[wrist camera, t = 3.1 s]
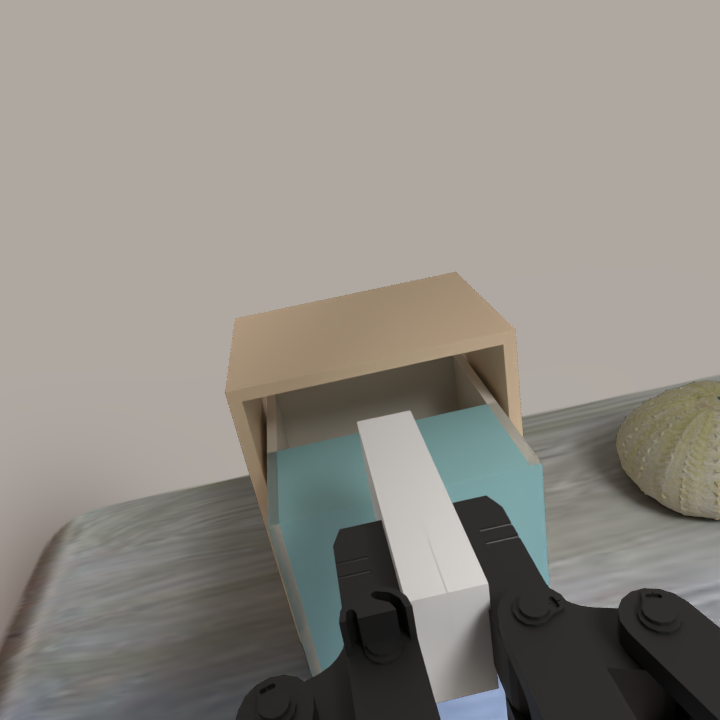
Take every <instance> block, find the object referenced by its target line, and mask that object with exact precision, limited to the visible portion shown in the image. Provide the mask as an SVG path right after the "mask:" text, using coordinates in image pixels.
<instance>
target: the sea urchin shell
mask: <svg viewBox="0 0 720 720" xmlns="http://www.w3.org/2000/svg"><path fill="white" fill-rule="evenodd" d="M616 438H617V441H616V449H617V453H618V454H617V455H618V456H619V459H620V462H621V464H622V469H624V470H625V472H626V475H628V476H629V477H630V478H631V479H632V480H633V481H634V482H635V483H636V484H637V485H638V486H639V488H640V489H641V491H643V492H644V494H645V495H649V496H651V497H652V498H654V499H656V500H657V501H658V502H660V503H661V504H662V505H664V506H666V507H667V508H670V509H672V510H674V511H677V512H679V513H682V514H683V515H688V516H695V517H705V518H713V519H716V520H719V519H720V382H712V381H701V382H693V383H690V384H687V385H684V386H681V387H677V388H674V389H670V390H666V391H665V392H664V393H662V394H660V395H658V396H656V397H654V398H650V400H648V401H645V402H643V404H642V405H641V406H640V407H638V408H637V409H636V410H633V412H632V413H631V414H630V415H629V416H628V417H625V420H624V421H623V424H622V425H620V430H619V432H618V434H617V436H616Z"/></svg>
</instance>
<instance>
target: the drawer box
mask: <svg viewBox="0 0 720 720" xmlns="http://www.w3.org/2000/svg"><path fill="white" fill-rule="evenodd" d="M405 411H411V413H412V415H413V417H414V420H415V422H416V424H417V426H418V429H419V431H420V433H421V435H422V437H423V440H424V442H425V444H426V446H427V449H428V451H429V453H430V455H431V457H432V460H433V462H434V464H435V466H436V468H437V471H438V473H439V475H440V477H441V480H442V482H443V484H444V486H445V488H446V491H447V493H448V495H449V497H450V500H451V502H452V503H454V502H458V501H463V500H467V499H472V498H476V497H481V496H485V495H487V496H488V497H489V498H491V499H492V500H494V501H495V502H496V503H498V504H499V505H501V506H502V507H503V509H504V510H505V512H506V514H507V516H508V517H509V519H510V521H511V524H512V525H513V526H514V528H515V530H516V532H517V533H518V536H519V538H520V539H521V540H522V542H523V544H524V546H525V547H526V549H527V551H528V553H529V554H530V556H531V558H532V560H533V561H534V563H535V565H536V567H537V568H538V570H539V572H540V574H541V575H542V577H543V579H544V581H545V582H546V584H547V585H548V587H549V574H548V556H547V539H546V522H545V504H544V487H543V470H542V463H541V461H540V460H539V458H538V457H537V456H536V454H535V453H534V452H533V450H532V449H531V448H530V446H529V445H528V443H527V442H526V441H525V439H524V438H523V437H522V435H521V434H520V433H519V431H518V430H517V429H516V427H515V426H514V424H513V423H512V422H511V420H510V419H509V418H508V416H507V415H506V414H505V412H504V411H503V409H502V408H501V407H500V405H499V404H498V403H497V401H496V400H495V399H494V397H493V396H492V395H491V393H490V392H489V390H488V389H487V388H486V386H485V385H484V384H483V382H482V381H481V380H480V378H479V377H478V375H477V374H476V373H475V371H474V370H473V369H472V367H471V366H470V365H469V363H468V362H467V360H466V359H465V358H464V356H463V355H462V354H457V355H452V356H448V357H443V358H439V359H434V360H430V361H425V362H420V363H416V364H411V365H407V366H402V367H398V368H393V369H389V370H384V371H379V372H375V373H370V374H366V375H361V376H357V377H352V378H347V379H343V380H338V381H334V382H329V383H325V384H320V385H315V386H311V387H306V388H302V389H297V390H293V391H288V392H283V393H279V394H274V395H270V396H267V528H268V531H269V535H270V538H271V541H272V545H273V548H274V551H275V555H276V558H277V561H278V565H279V568H280V571H281V575H282V578H283V581H284V585H285V588H286V591H287V595H288V598H289V601H290V605H291V608H292V611H293V615H294V618H295V621H296V625H297V628H298V631H299V635H300V638H301V641H302V645H303V648H304V651H305V655H306V658H307V661H308V665H309V668H310V671H311V675H312V677H314V676H316V675H318V674H319V673H321V672H322V671H324V670H325V669H327V668H328V667H329V666H330V665H331V664H332V663H333V662H334V661H335V660H336V659H337V658H338V656H339V654H340V653H341V651H342V649H343V646H344V643H343V638H342V634H341V630H340V626H339V616H340V611H341V609H342V606H341V599H340V592H339V585H338V578H337V571H336V564H335V557H334V550H333V545H334V542H335V540H336V537H337V534H338V532H339V529H343V528H347V527H352V526H356V525H361V524H365V523H370V522H375V521H377V520H376V516H375V512H374V508H373V505H372V500H371V495H370V489H369V484H368V479H367V473H366V468H365V463H364V457H363V452H362V447H361V441H360V436H359V431H358V426H357V422H358V421H363V420H367V419H372V418H377V417H382V416H386V415H391V414H396V413H400V412H405Z"/></svg>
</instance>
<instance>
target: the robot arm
mask: <svg viewBox="0 0 720 720" xmlns="http://www.w3.org/2000/svg"><path fill="white" fill-rule="evenodd" d="M357 426H358V431H359V436H360V441H361V447H362V452H363V457H364V463H365V468H366V473H367V479H368V484H369V489H370V495H371V500H372V505H373V508H374V512H375V516H376V520H377V521H375V522H370V523H365V524H361V525H356V526H352V527H347V528H343V529H339V532H338V534H337V537H336V540H335V542H334V545H333V550H334V557H335V564H336V571H337V578H338V585H339V592H340V599H341V606H342V609H341V611H340V616H339V626H340V630H341V634H342V638H343V643H344V646H343V649H342V651H341V653H340V654H339V656H338V658H337V659H336V660H335V661H334V662H333V663H332V664H331V665H330V666H329V667H328V668H327V669H325V670H324V671H322V672H321V673H319V674H318V675H316V676H314V677H312V678H311V679H309V680H307V681H305V682H303V681H302V680H300V679H299V678H297V677H293V676H287V675H282V676H277V677H271V678H268V679H267V680H265V681H263V682H261V683H259V684H258V685H256V686H255V687H254V688H253V689H252V690H251V691H250V692H249V693H248V694H247V695H246V696H245V698H244V700H243V702H242V704H241V706H240V708H239V710H238V713H237V717H236V720H440V716H439V713H438V709H437V705H436V703H439V702H444V701H448V700H452V699H456V698H460V697H464V696H469V695H473V694H477V693H481V692H485V691H489V690H493V689H498V688H499V687H498V677H497V673H498V676H499V678H500V681H501V683H502V686H503V688H504V691H505V694H506V705H507V716H508V720H720V628H719V627H718V626H717V625H716V624H714V623H713V622H712V621H711V620H709V619H708V618H707V617H706V616H705V615H703V614H702V613H701V612H700V611H698V610H697V609H696V608H695V607H694V606H692V605H691V604H690V603H689V602H687V601H686V600H684V599H682V598H681V597H679V596H677V595H676V594H674V593H671V592H667V591H664V590H661V589H646V588H643V589H640V590H636V591H632V592H630V593H629V594H628V595H626V596H625V597H624V598H623V599H622V600H621V602H620V605H619V608H618V609H616V608H593V607H585V606H579V605H576V604H573V603H570V602H568V601H566V600H565V599H564V598H563V597H562V595H561V594H559V593H557V592H556V591H554V590H552V589H550V588H549V587H548V585H547V584H546V582H545V581H544V579H543V577H542V575H541V574H540V572H539V570H538V568H537V567H536V565H535V563H534V561H533V560H532V558H531V556H530V554H529V553H528V551H527V549H526V547H525V546H524V544H523V542H522V540H521V539H520V538H519V536H518V533H517V532H516V530H515V528H514V526H513V525H512V524H511V521H510V519H509V517H508V516H507V514H506V512H505V510H504V509H503V507H502V506H501V505H499V504H498V503H496V502H495V501H494V500H492V499H491V498H489V497H488V496H487V495H485V496H481V497H476V498H472V499H467V500H463V501H458V502H454V503H452V502H451V500H450V497H449V495H448V493H447V491H446V488H445V486H444V484H443V482H442V480H441V477H440V475H439V473H438V471H437V468H436V466H435V464H434V462H433V460H432V457H431V455H430V453H429V451H428V449H427V446H426V444H425V442H424V440H423V437H422V435H421V433H420V431H419V429H418V426H417V424H416V422H415V420H414V417H413V415H412V413H411V411H405V412H400V413H396V414H391V415H386V416H382V417H377V418H372V419H367V420H363V421H358V422H357Z"/></svg>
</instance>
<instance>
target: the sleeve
mask: <svg viewBox="0 0 720 720" xmlns="http://www.w3.org/2000/svg"><path fill="white" fill-rule="evenodd" d="M457 354H462V355H463V356H464V358H465V359H466V360H467V362H468V363H469V365H470V366H471V367H472V369H473V370H474V371H475V373H476V374H477V375H478V377H479V378H480V380H481V381H482V382H483V384H484V385H485V386H486V388H487V389H488V390H489V392H490V393H491V395H492V396H493V397H494V399H495V400H496V401H497V403H498V404H499V405H500V407H501V408H502V409H503V411H504V412H505V414H506V415H507V416H508V418H509V419H510V420H511V422H512V423H513V424H514V426H515V427H516V429H517V430H518V431H519V433H520V434H521V435H522V437H523V429H522V415H521V401H520V389H519V388H520V387H519V374H518V360H517V346H516V332H515V329H514V328H513V327H512V326H511V325H510V324H509V323H508V322H507V321H506V320H505V319H504V318H503V317H502V316H501V315H500V314H499V313H498V312H497V311H496V310H495V309H494V308H493V307H492V306H491V305H490V304H489V303H488V302H486V301H485V300H484V299H483V298H482V297H481V296H480V295H479V294H478V293H477V292H476V291H475V290H474V289H473V288H472V287H471V286H470V285H469V284H468V283H467V282H466V281H465V280H464V279H463V278H462V277H461V276H460V275H459V274H457V272H453V273H448V274H443V275H439V276H434V277H429V278H425V279H420V280H415V281H410V282H405V283H401V284H396V285H391V286H387V287H382V288H377V289H372V290H368V291H363V292H358V293H354V294H349V295H344V296H339V297H335V298H330V299H325V300H321V301H316V302H311V303H306V304H301V305H297V306H292V307H287V308H283V309H278V310H273V311H269V312H264V313H259V314H255V315H250V316H245V317H240V318H235V323H234V330H233V337H232V345H231V352H230V359H229V366H228V374H227V381H226V389H225V395H226V398H227V401H228V405H229V408H230V411H231V414H232V418H233V421H234V424H235V428H236V431H237V435H238V438H239V441H240V444H241V448H242V451H243V454H244V458H245V461H246V464H247V468H248V471H249V474H250V478H251V481H252V484H253V488H254V491H255V494H256V498H257V501H258V504H259V508H260V511H261V514H262V517H263V521H264V524H265V527H266V531H267V534H268V537H269V541H270V544H271V547H272V551H273V554H274V557H275V561H276V564H277V567H278V571H279V574H280V577H281V581H282V584H283V587H284V590H285V594H286V597H287V600H288V604H289V607H290V610H291V614H292V617H293V620H294V624H295V627H296V630H297V634H298V637H299V640H300V643H301V642H302V641H301V638H300V635H299V631H298V628H297V625H296V621H295V618H294V615H293V611H292V608H291V605H290V601H289V598H288V595H287V591H286V588H285V585H284V581H283V578H282V575H281V571H280V568H279V565H278V561H277V558H276V555H275V551H274V548H273V545H272V541H271V538H270V535H269V531H268V528H267V396H270V395H274V394H279V393H283V392H288V391H293V390H297V389H302V388H306V387H311V386H315V385H320V384H325V383H329V382H334V381H338V380H343V379H347V378H352V377H357V376H361V375H366V374H370V373H375V372H379V371H384V370H389V369H393V368H398V367H402V366H407V365H411V364H416V363H420V362H425V361H430V360H434V359H439V358H443V357H448V356H452V355H457Z"/></svg>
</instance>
